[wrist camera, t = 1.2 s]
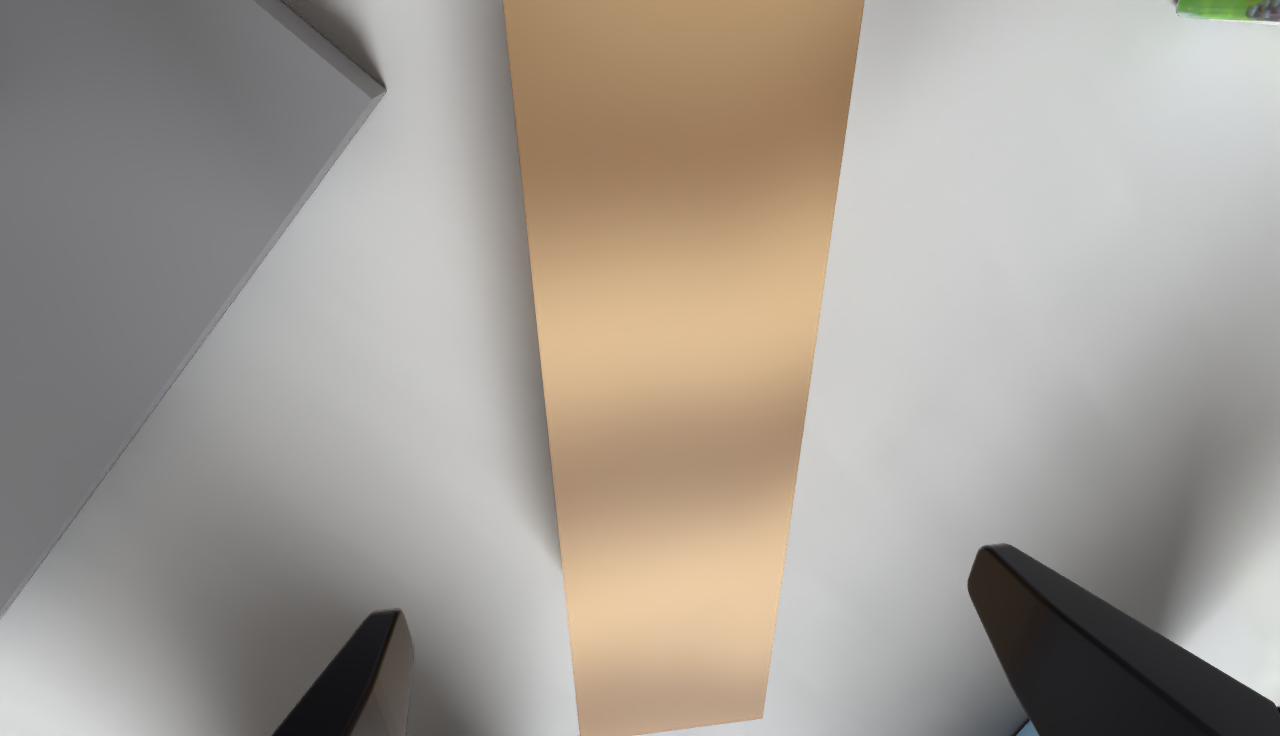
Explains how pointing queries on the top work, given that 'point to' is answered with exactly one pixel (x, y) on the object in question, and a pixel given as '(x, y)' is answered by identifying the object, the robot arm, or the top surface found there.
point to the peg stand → (137, 216)
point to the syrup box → (1232, 10)
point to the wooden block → (677, 324)
